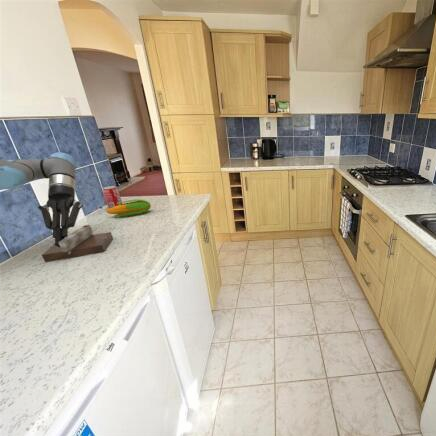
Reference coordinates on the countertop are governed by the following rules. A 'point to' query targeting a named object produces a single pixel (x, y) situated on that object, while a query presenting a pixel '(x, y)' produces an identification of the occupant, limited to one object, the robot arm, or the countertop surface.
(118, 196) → the soda can
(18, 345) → the countertop surface
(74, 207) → the robot arm
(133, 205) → the corn
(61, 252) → the base
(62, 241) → the grey bar
